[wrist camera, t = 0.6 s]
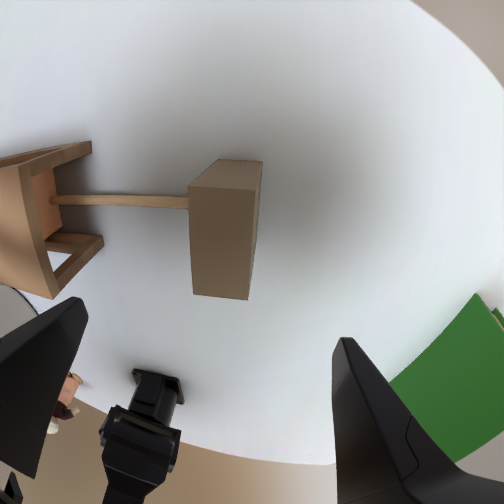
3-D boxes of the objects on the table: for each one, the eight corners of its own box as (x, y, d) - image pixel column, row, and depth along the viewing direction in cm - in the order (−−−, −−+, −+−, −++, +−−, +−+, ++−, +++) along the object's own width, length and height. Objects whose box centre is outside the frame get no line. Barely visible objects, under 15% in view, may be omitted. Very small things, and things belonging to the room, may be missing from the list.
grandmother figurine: (63, 376, 37) (36, 427, 26) (55, 363, 35) (24, 416, 24) (95, 389, 37) (69, 446, 26) (87, 377, 35) (58, 437, 24)
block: (256, 241, 21) (247, 300, 14) (28, 223, 21) (-15, 255, 15) (262, 161, 18) (255, 190, 12) (18, 170, 19) (-31, 194, 12)
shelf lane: (104, 245, 22) (52, 300, 15) (9, 235, 22) (-33, 269, 15) (91, 140, 17) (17, 166, 10) (-6, 160, 18) (-57, 185, 11)
